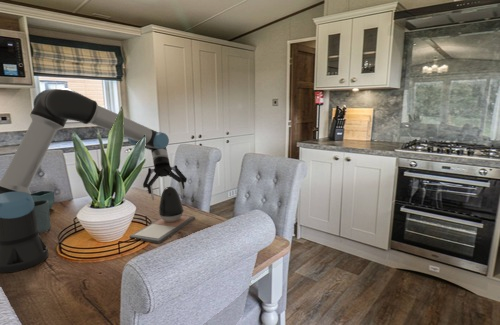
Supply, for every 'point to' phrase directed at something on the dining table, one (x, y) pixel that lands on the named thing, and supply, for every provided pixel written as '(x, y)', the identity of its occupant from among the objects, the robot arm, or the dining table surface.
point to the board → (161, 229)
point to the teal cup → (42, 215)
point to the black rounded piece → (170, 205)
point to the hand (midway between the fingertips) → (168, 197)
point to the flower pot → (44, 197)
